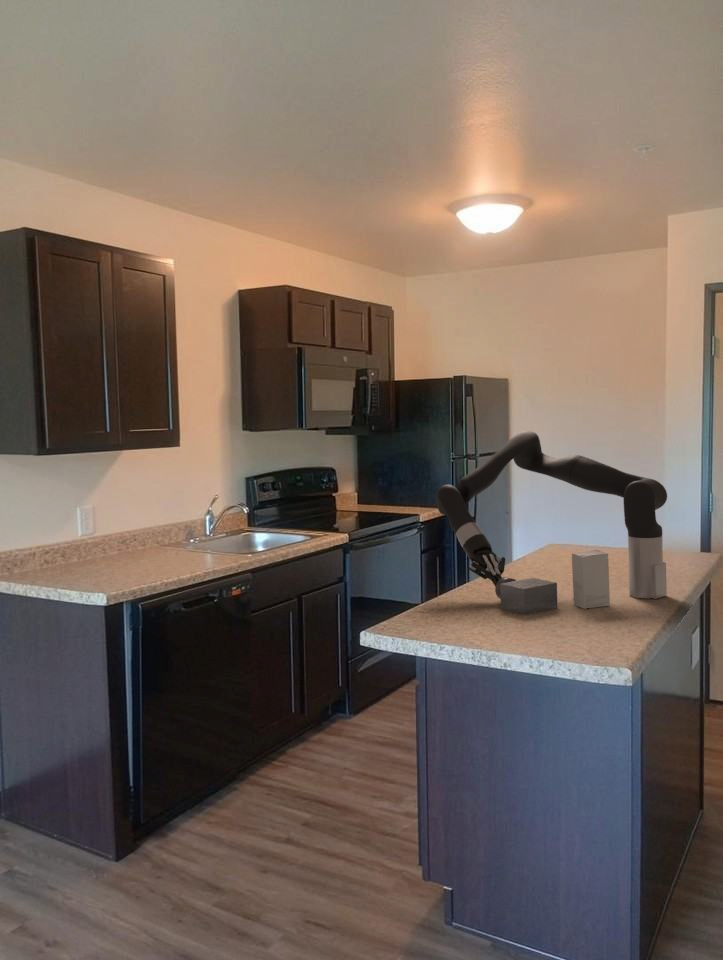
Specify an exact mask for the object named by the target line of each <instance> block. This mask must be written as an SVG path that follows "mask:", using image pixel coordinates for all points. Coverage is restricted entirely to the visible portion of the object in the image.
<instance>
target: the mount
mask: <svg viewBox="0 0 723 960" xmlns="http://www.w3.org/2000/svg"><path fill="white" fill-rule="evenodd" d="M500 598H501V599H500ZM500 598H499V599H500V609H501V610H504V609H505V611H508V610H509V611H508V612H511V611H512V613H515V612H516V613H515V614H519V613H520V615H523V614H524V615H523V616H526V615H525V614H527V615H531V614H530V613H532V614H535V612H536V613H540V612H539V611H541V612H545V610H546V611H550V610H555V609H558V607H559V605H558V583H557V582H555V581H549V580H544V579H540V578H535V577H530V578H524V579H518V580H516V581H512V582H507V583H501V584H500ZM554 608H555V609H554ZM549 609H550V610H549Z"/></svg>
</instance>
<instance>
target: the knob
mask: <svg viewBox="0 0 723 960" xmlns="http://www.w3.org/2000/svg"><path fill="white" fill-rule="evenodd" d="M512 581H517V580H516V579H515V578H510V577H505V576H504V577H502V578H501V579H499V580H498V582H497V584H496V587H495V586H494V589H495V591H494V592H495V595H496V596H497V598H498V599H499V600H501V598H500V584H501V583H507V582H512Z"/></svg>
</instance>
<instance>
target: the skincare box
mask: <svg viewBox="0 0 723 960" xmlns="http://www.w3.org/2000/svg"><path fill="white" fill-rule="evenodd" d="M571 568H572V572H571V573H572V592H573V605H574V606H576V607H578V606H579V608H580V607H581V609H583V608H584V609H583V610H587V608H589V609H594V608H601V607H607V606H611V599H610V597H611V596H610V574H609V572H610V567H609V553H608V552H604V551H601V550H598V549H595V550H587V551H581V552H573V553H571Z"/></svg>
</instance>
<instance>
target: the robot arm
mask: <svg viewBox="0 0 723 960" xmlns="http://www.w3.org/2000/svg"><path fill="white" fill-rule="evenodd" d="M511 461H514V464H515V465H516V466H517V467H519V468H520V469H523V470H526V471H530V472H534V473H537V474H541V475H545V476H548V477H551V478H554V479H556V480H559V481H562V482H564V483H567V484H570V485H571V486H575V487H577V488H580V489H582V490H585V491H590V492H594V493H601V494H607V495H612V496H617V497H621V498H623V513H624V515H623V516H624V524H625V527H626V530H627V545H628V549H627V551H628V552H627V553H628V585H629V587H628V590H629V592H628V593H629V596H630V597H632V598H636V599H637V598H638V599H650V598H653V599H654V600H655V599H656V600H657V598H658V599H660V598H663V597H666V596H667V563H666V562H665V561H664V551H663V541H664V540H663V528H662V526H661V525H660V524H659V523H658V521H657V517H656V510H659V509H660V508H662V507H663V506H664V505H665V504H666V502H667V499H668V493H667V490H666V487H664V485H663V484H661V482H660V481H658V480H656V479H653V478H649V477H644V476H639V475H636V474H633V473H632V474H631V473H628V472H624V471H622V470H619V469H617V468H615V467H613V466H610V465H608V464H605V463H602V462H599V461H596V460H594V459H592V458H589V457H586V456H583V455H579V454H574V455H567V456H563V457H559V458H556V457H553V456H549V455H548V454H545V453H544V452H543V451H542V446H541V440H540V437H539V435H538V434H537V433H536V432H534V431H531V430H524V431H521V432H519V433H517V434H514V435H513V436H512V437H511V439H509V440H508V441H507V442H506V443H505V444H504V445H503V446H502V447H500V448H499V449H498V450H497V451H496V452H495V453H494V454H492V456H490V457H489V458H488V459H487V460H486V461H485V462H484V463H482V464H481V465H479V466H478V467H476V468H475V469H473V470H472V471H470V472H468V473H467V474H466V475H464V476H463V477H461V478H460V479H459V482H458V484H457V486H456V487H455V486H454V485H452V484H444V485H441V486H440V487H439V488H438V489H437V492H436V502H437V503H436V505H437V506H436V507H437V510H438V512H439V513H440V514H442V515H444V516H447V518H448V522H449V526H450V527H451V529H452V530H453V532H454V534H455V536H456V538H457V540H458V542H459V544H460V546H461V547H462V549H463V551H464V552H465V554H466V556H467V557H468V560H470V561H471V563H470V565H469V567H468V570H469V571H471V572H473V573H474V574H475V575H477V576H479V577H481V578H482V579H483V580H487V579H488V580H490V581H491V582H492V584H493V586H494V588H495V587H496V584H497V582H498V580H499V579H501V578H503V577H502V575H503V573H504V572H505V568H506V567H505V566H506V557H504V556H502V557H501V558H500V557H498V556H497V554H496V553H495V552H493V549H492V548H493V547H492V545H491V543H490V542H489V540H488V538H487V536H486V535H485V534H484V532H483V531H482V529H481V527H480V526H479V525H478V524H477V522H476V521H475V519H474V518H473V516H472V515H471V513H470V512H469V509H468V508H467V504H469V503H470V501H471V500H473V498H474V497H476V496H477V495H479V494H480V493H482V492H484V491H485V490H487V489H488V488H489V487H491V485H493V484H494V483H495V481H497V479H498V477H499V476H500V475H501V473H502V471H503V470H504V469H505V467H506V466H507V465H508V464H509V463H510V462H511Z"/></svg>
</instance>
